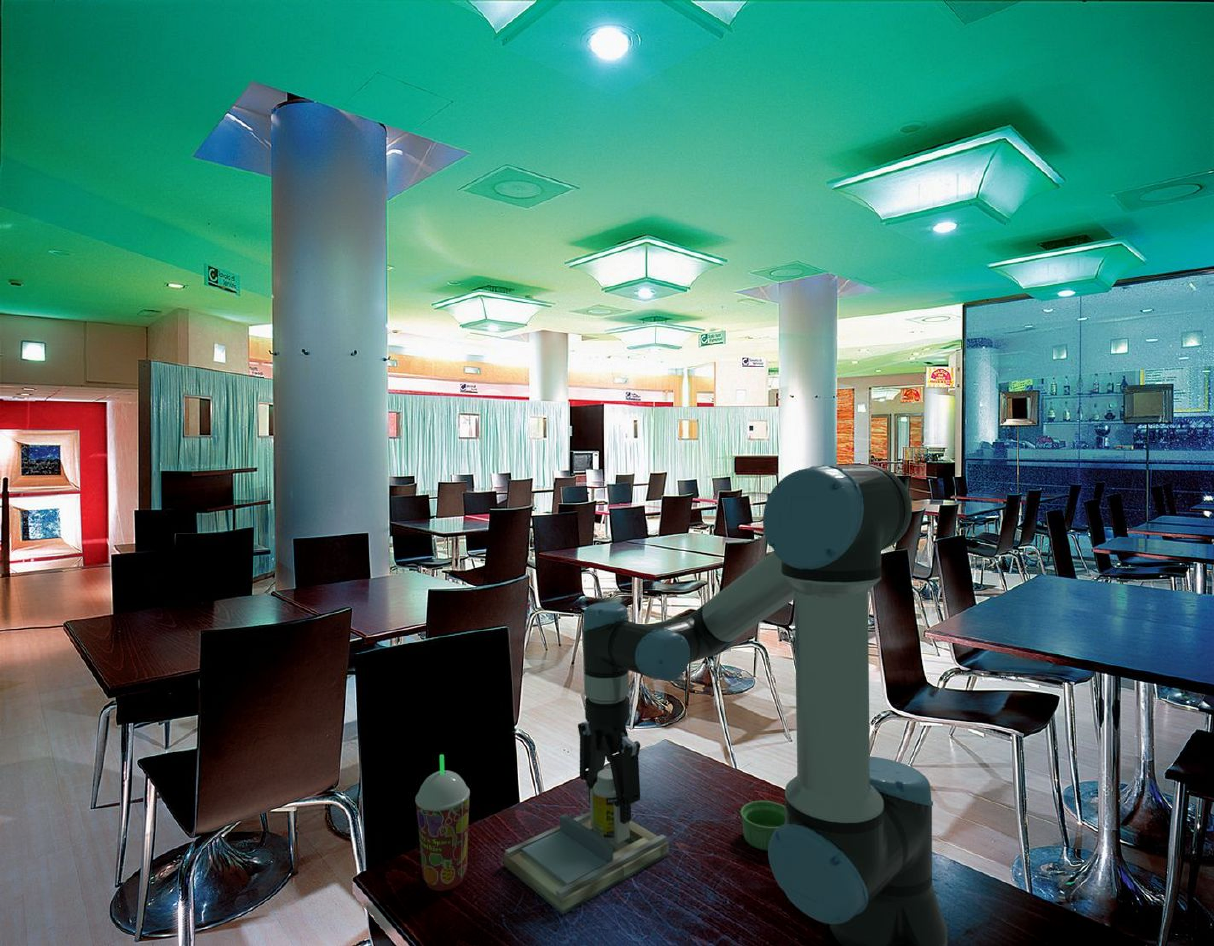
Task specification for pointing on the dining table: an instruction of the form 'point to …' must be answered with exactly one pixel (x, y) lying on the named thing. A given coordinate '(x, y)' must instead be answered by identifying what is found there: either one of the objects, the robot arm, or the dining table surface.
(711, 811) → the dining table surface
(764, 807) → the ramekin
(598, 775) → the supplement bottle
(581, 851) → the cover
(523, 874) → the sliding lid box
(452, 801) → the smoothie
